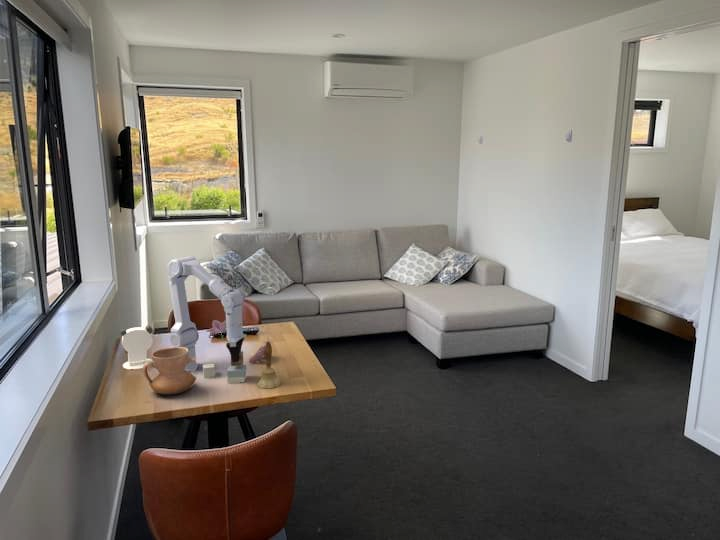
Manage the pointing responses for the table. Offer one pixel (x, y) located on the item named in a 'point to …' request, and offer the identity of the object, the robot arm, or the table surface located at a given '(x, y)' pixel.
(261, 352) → the video game controller
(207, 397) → the table surface
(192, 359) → the ceramic jug
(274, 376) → the hand bell
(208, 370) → the cream cube
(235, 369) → the tower top
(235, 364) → the walnut cube
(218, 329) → the lily
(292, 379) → the table surface
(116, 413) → the table surface
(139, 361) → the panda figurine
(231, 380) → the tower base
